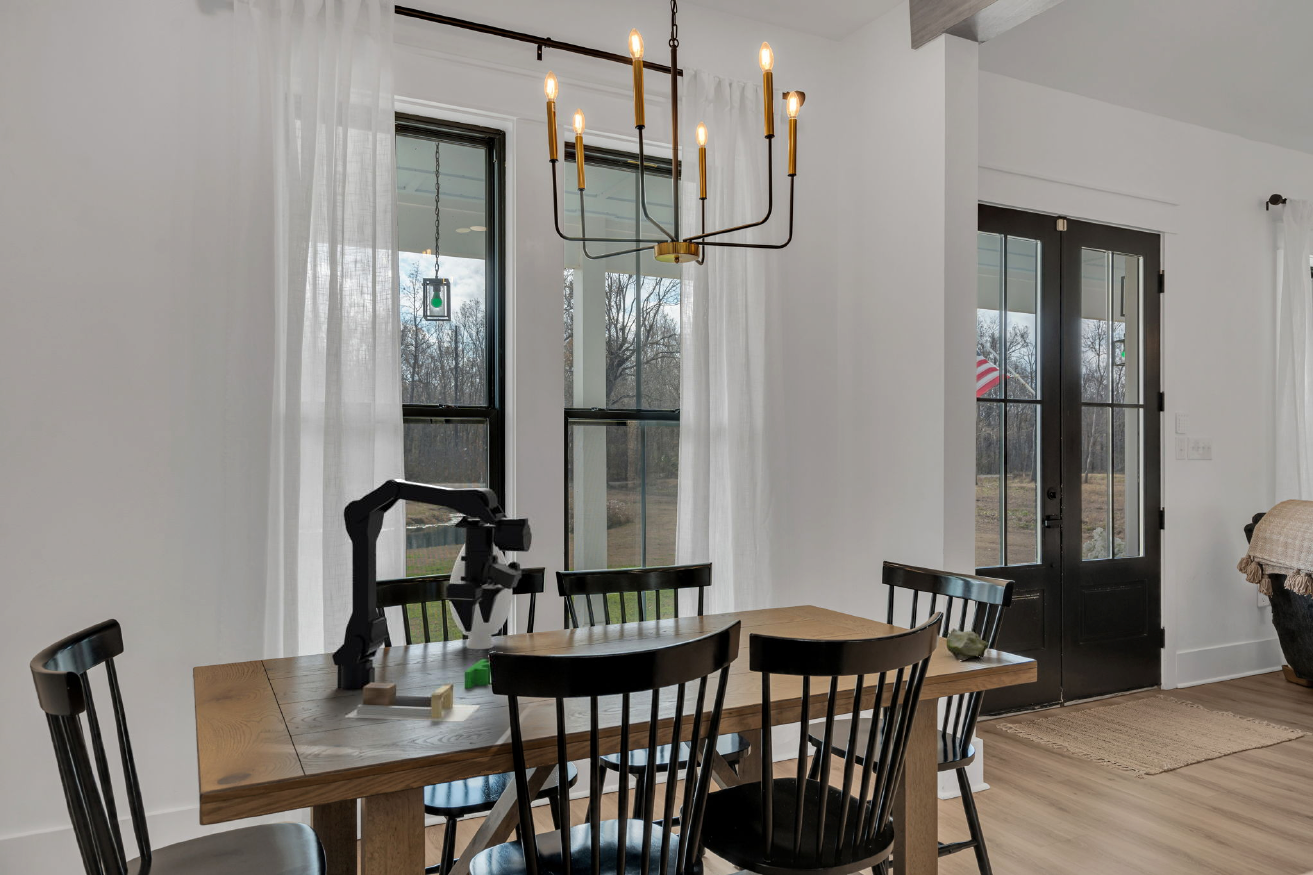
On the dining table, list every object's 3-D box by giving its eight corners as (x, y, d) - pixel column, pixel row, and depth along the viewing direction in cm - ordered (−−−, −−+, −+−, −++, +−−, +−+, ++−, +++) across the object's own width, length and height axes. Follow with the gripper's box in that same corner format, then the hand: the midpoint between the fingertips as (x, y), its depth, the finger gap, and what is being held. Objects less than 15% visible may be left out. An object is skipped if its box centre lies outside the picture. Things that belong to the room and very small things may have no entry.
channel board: (344, 722, 159) (344, 693, 159) (368, 706, 169) (368, 679, 169) (463, 727, 156) (463, 697, 157) (480, 710, 166) (480, 682, 166)
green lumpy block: (938, 660, 214) (937, 627, 216) (971, 661, 216) (970, 629, 218) (960, 662, 205) (959, 627, 207) (995, 663, 207) (993, 629, 209)
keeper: (362, 711, 162) (363, 687, 162) (370, 706, 165) (371, 682, 165) (388, 712, 161) (388, 688, 162) (396, 707, 165) (396, 683, 165)
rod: (394, 713, 162) (393, 699, 161) (400, 707, 164) (399, 693, 164) (430, 715, 161) (429, 700, 160) (436, 708, 164) (435, 694, 163)
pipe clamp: (482, 694, 178) (482, 672, 178) (464, 694, 179) (464, 671, 179) (498, 680, 189) (498, 658, 189) (481, 679, 190) (481, 658, 190)
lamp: (515, 651, 215) (516, 510, 216) (449, 655, 211) (451, 511, 212) (508, 638, 231) (509, 506, 231) (447, 641, 226) (448, 507, 227)
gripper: (499, 557, 165) (498, 639, 165) (532, 546, 184) (530, 620, 184) (445, 554, 168) (443, 635, 167) (482, 544, 186) (481, 617, 186)
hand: (477, 627), depth 176 cm, fingers open, 9 cm apart
